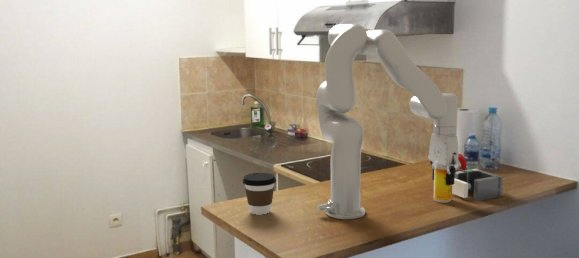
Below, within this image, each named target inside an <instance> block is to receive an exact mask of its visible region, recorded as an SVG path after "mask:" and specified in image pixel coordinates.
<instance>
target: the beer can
mask: <svg viewBox="0 0 579 258" xmlns="http://www.w3.org/2000/svg"><path fill="white" fill-rule="evenodd" d="M451 164H452V162H451ZM451 168H452V166H450V169H451ZM446 174H448V173H447V169H446V166H443V165H441V164H440V163H439V162H438V161H435V166H434V180H433V199H434V201H435V202H438V203H442V204H446V203H450V202H451V201H452V200H453V193H452V185H448V186H447V185H446Z"/></svg>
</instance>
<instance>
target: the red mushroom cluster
mask: <svg viewBox="0 0 579 258" xmlns="http://www.w3.org/2000/svg"><path fill="white" fill-rule="evenodd" d="M458 160H459V162H460V164H461V167H460V168H459V169H462V170H467V160H466V158H465V157H464V155H463V154H461V153H458ZM458 171H459V170H457V171H456V172H458Z"/></svg>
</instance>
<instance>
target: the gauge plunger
mask: <svg viewBox="0 0 579 258" xmlns="http://www.w3.org/2000/svg"><path fill="white" fill-rule="evenodd" d="M458 170H459V171H462V172H465V173H467V183H466V182H464V181H461V180H458V179H455V178H454V184H453V185H452V195H456V196H458V197H461V198H463V199H465V198H468V196H469V191H468V189H470V188H471V184H470V183H469V177H470V173H469V172H468V171H465V170H462V169H458Z"/></svg>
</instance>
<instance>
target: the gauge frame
mask: <svg viewBox="0 0 579 258" xmlns="http://www.w3.org/2000/svg"><path fill="white" fill-rule="evenodd" d="M465 171H468V172H469V173H470V177H469V183H470V184H471V188H470V189H468V192H471V191H473V199H472V200H474V201H476V202H480V201H484V200H485V201H486V200H490V199H496V198H500V197H503V184H504V183H503V182H504V177H503V176H502V175H501V176H500V175H498V174H494V173H493V172H492V173H491V172H489V171H485V170H483V169H478V168H473V169H470V168H469V169H466V170H465ZM455 179H458V180H461V181H464V182H466V183H467V173H465V172H462V171H458V172H456V173H455Z"/></svg>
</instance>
